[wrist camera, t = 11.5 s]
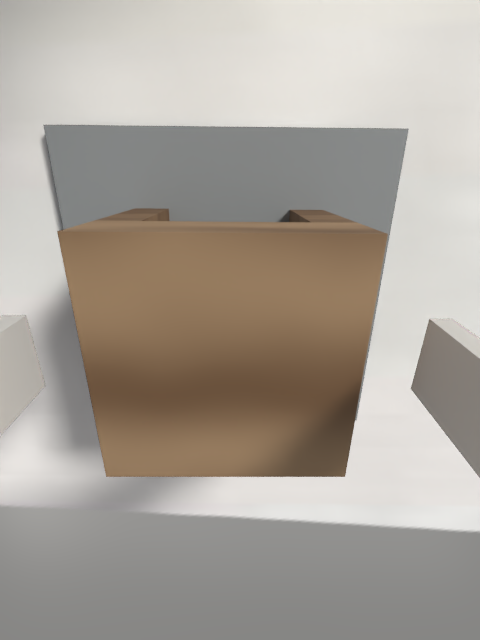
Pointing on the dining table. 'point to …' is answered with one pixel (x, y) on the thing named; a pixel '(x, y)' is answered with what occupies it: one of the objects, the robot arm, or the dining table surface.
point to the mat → (227, 173)
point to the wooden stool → (223, 340)
